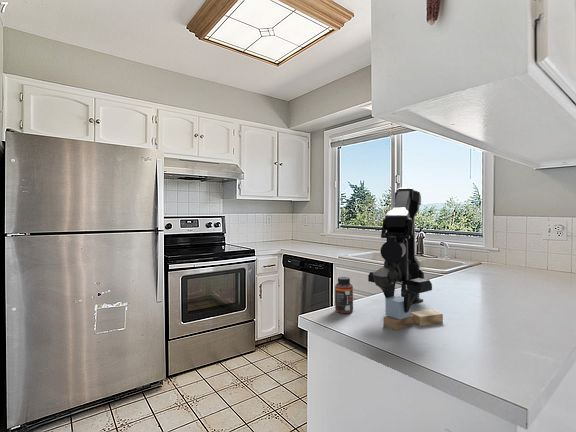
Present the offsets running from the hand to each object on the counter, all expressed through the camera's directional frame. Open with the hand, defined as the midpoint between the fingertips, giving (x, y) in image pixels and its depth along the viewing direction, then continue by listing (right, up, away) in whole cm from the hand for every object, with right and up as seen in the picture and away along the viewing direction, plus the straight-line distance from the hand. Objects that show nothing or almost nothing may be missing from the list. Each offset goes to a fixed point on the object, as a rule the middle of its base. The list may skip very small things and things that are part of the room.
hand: (398, 309), depth 97 cm
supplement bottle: (-14, -5, +14) cm, 20 cm away
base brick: (0, -5, 0) cm, 5 cm away
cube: (0, -2, 0) cm, 2 cm away
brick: (+9, -5, +2) cm, 11 cm away
